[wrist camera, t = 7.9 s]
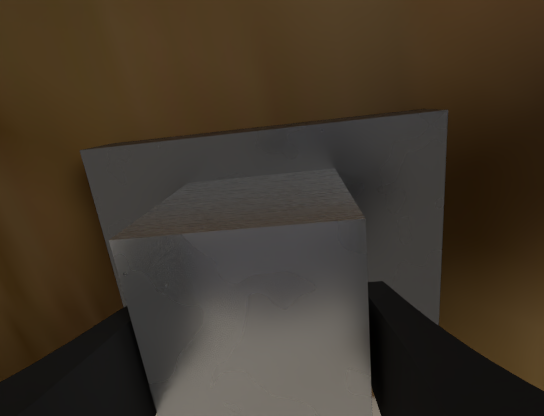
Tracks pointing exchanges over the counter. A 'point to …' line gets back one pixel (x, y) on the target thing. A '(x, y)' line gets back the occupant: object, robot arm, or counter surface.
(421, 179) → the stand
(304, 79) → the counter surface
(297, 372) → the block
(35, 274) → the counter surface
